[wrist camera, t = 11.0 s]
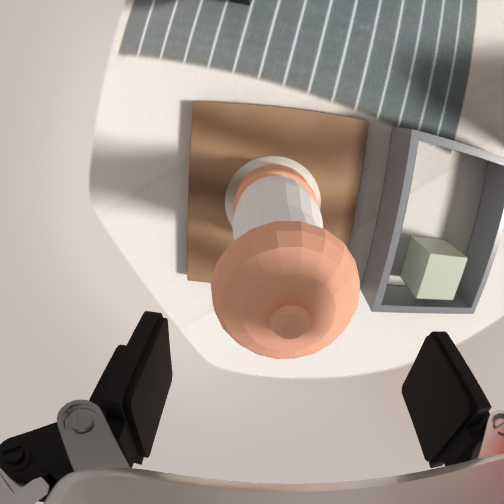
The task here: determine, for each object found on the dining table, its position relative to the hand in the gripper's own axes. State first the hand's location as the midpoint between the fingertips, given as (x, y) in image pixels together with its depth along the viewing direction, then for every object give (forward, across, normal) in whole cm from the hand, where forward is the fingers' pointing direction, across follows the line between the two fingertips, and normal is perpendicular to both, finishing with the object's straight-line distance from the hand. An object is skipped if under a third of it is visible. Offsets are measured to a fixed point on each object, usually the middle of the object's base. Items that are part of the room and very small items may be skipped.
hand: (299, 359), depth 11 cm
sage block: (+23, -18, +5) cm, 29 cm away
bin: (+23, -18, +1) cm, 29 cm away
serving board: (+22, 0, +1) cm, 23 cm away
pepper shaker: (+21, 0, 0) cm, 21 cm away
